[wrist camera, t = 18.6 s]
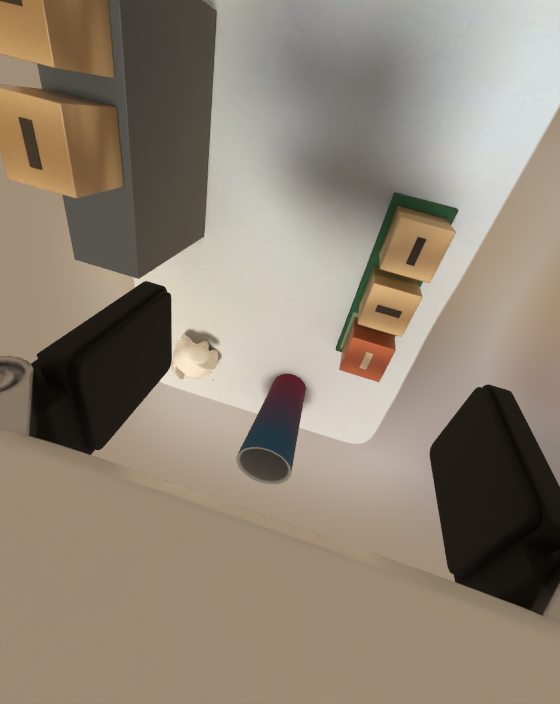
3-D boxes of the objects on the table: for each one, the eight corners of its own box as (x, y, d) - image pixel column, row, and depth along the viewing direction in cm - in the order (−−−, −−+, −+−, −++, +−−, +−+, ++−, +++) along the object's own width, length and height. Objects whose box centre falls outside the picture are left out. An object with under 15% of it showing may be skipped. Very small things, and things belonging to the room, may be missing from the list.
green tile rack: (394, 192, 33) (397, 203, 28) (457, 208, 33) (470, 222, 28) (336, 347, 45) (331, 373, 40) (381, 361, 45) (381, 388, 40)
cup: (262, 391, 53) (229, 468, 41) (278, 362, 49) (246, 438, 37) (300, 409, 53) (278, 491, 41) (318, 381, 49) (300, 464, 37)
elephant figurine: (198, 318, 48) (178, 339, 43) (236, 355, 50) (221, 380, 45) (173, 340, 52) (152, 362, 47) (210, 374, 54) (194, 398, 49)
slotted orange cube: (354, 316, 41) (352, 337, 37) (393, 327, 40) (395, 350, 36) (342, 347, 44) (339, 370, 40) (378, 358, 43) (379, 383, 39)
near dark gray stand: (149, -5, 29) (-100, -147, 14) (216, 10, 29) (35, -119, 13) (156, 222, 41) (27, 280, 26) (204, 236, 41) (101, 303, 25)
